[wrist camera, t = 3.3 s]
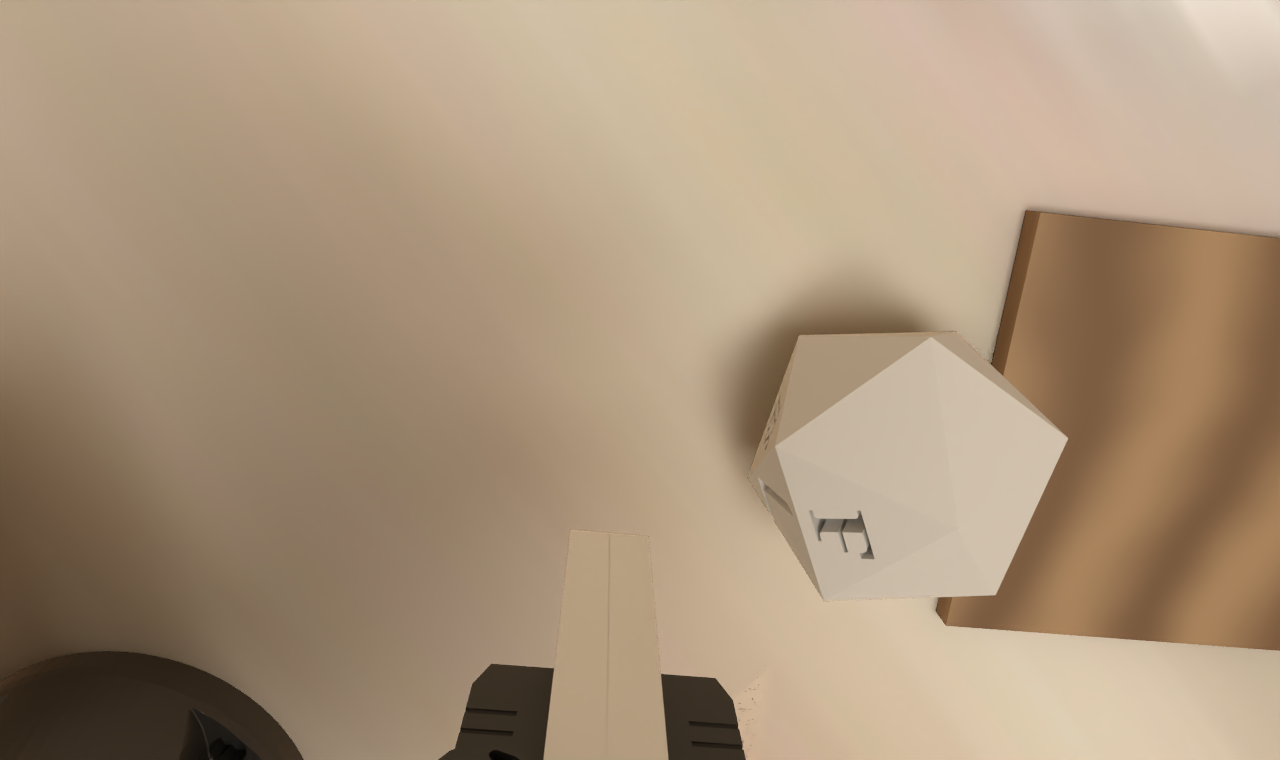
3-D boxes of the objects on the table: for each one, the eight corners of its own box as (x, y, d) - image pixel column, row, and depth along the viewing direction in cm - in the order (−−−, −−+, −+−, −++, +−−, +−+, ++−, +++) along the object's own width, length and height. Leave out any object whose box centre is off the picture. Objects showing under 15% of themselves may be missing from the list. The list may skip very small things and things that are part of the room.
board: (935, 612, 33) (958, 643, 31) (1026, 210, 29) (1059, 214, 27) (1353, 643, 34) (1402, 675, 32) (1497, 262, 30) (1564, 270, 28)
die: (701, 346, 30) (745, 437, 20) (937, 266, 29) (1097, 319, 20) (767, 545, 32) (835, 713, 22) (987, 473, 32) (1153, 613, 22)
